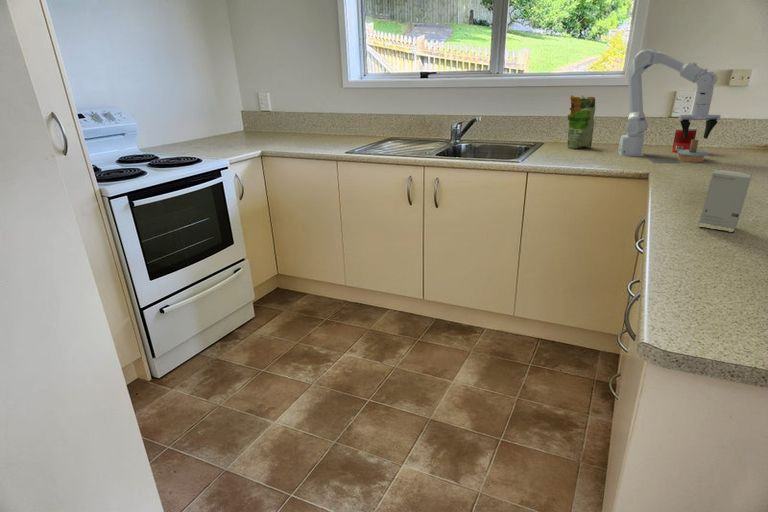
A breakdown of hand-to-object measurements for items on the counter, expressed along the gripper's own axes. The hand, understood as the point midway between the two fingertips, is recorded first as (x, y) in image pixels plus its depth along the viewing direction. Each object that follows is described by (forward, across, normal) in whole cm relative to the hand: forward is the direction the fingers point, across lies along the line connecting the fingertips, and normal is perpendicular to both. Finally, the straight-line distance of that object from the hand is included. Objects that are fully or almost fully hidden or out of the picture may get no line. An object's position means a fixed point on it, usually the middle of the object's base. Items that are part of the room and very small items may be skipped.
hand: (695, 138), depth 200 cm
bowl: (+9, 0, 0) cm, 9 cm away
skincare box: (+9, -21, -89) cm, 92 cm away
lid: (+6, 0, 0) cm, 6 cm away
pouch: (+10, -41, +30) cm, 52 cm away
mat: (+9, -11, -2) cm, 14 cm away
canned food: (+10, +2, +18) cm, 21 cm away
